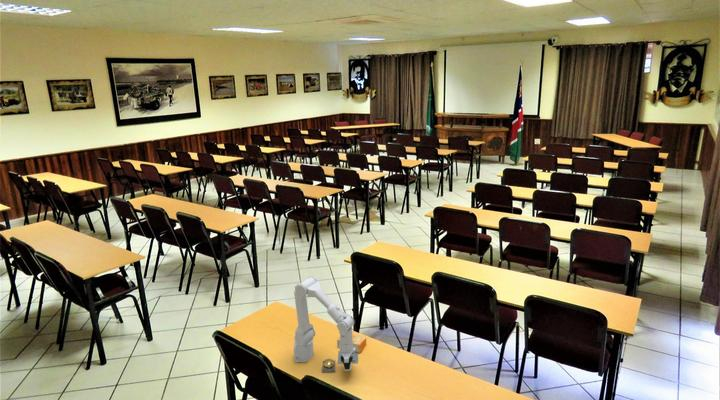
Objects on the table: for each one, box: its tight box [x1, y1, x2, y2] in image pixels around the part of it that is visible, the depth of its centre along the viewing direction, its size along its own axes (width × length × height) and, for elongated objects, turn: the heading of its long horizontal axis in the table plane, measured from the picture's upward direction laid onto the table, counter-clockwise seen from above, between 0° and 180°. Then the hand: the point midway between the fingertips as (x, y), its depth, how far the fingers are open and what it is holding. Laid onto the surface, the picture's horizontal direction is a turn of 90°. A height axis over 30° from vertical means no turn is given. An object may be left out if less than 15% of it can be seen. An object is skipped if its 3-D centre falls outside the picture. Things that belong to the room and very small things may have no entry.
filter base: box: [337, 350, 359, 365], centre depth 213 cm, size 10×10×2 cm
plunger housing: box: [321, 360, 336, 374], centre depth 205 cm, size 6×6×3 cm
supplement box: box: [336, 334, 367, 354], centre depth 221 cm, size 8×5×13 cm
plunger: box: [322, 358, 334, 367], centre depth 205 cm, size 5×5×4 cm
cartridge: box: [342, 361, 353, 372], centre depth 201 cm, size 4×4×5 cm
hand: (347, 365), depth 201 cm, fingers closed on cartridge, 4 cm apart
